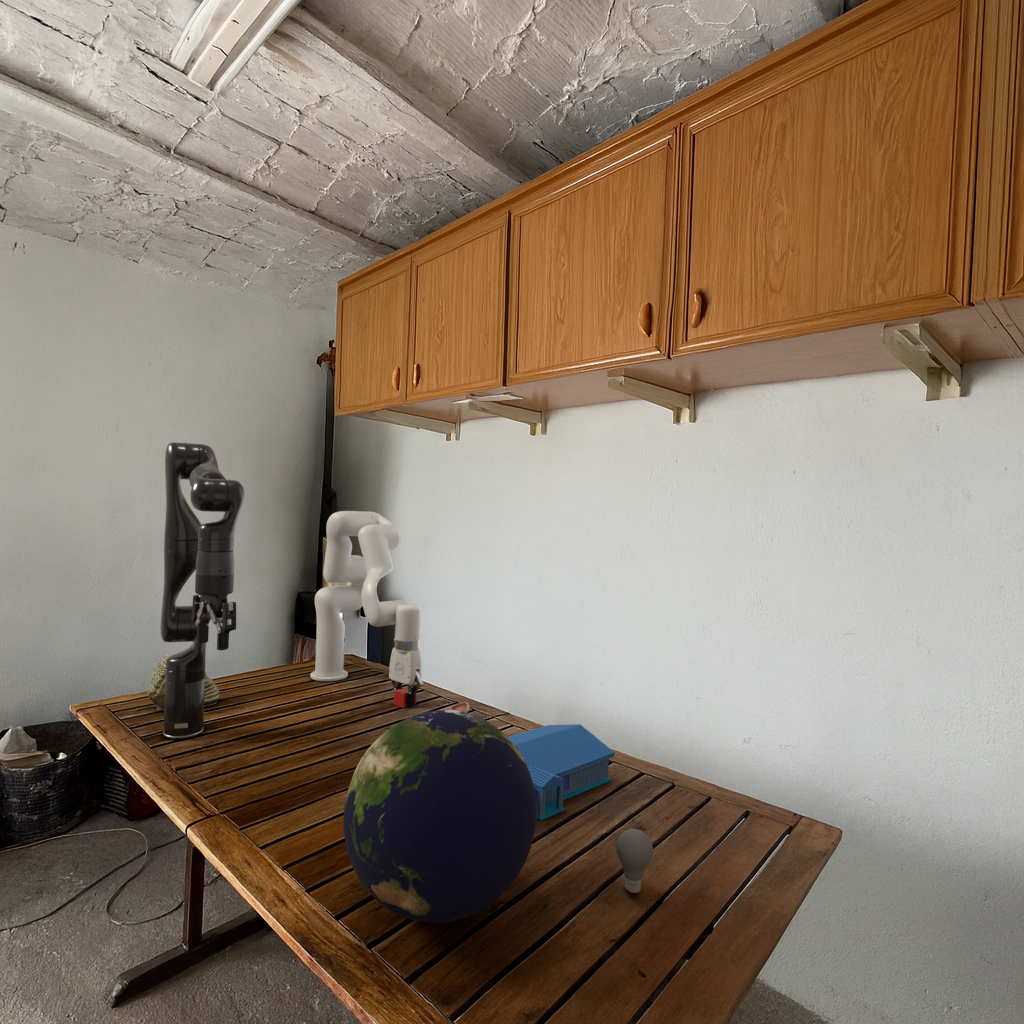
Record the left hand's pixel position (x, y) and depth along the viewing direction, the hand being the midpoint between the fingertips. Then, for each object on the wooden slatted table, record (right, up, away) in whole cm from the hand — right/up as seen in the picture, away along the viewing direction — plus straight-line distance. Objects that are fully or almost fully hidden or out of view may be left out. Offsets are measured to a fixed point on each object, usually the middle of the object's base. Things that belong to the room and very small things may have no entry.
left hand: (212, 646), depth 137 cm
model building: (+68, -33, +4) cm, 75 cm away
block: (+32, -30, +58) cm, 73 cm away
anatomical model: (+45, -31, +47) cm, 72 cm away
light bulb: (+85, -34, -31) cm, 97 cm away
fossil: (-31, -28, +48) cm, 64 cm away
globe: (+53, -33, -37) cm, 73 cm away
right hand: (+32, -30, +58) cm, 73 cm away
